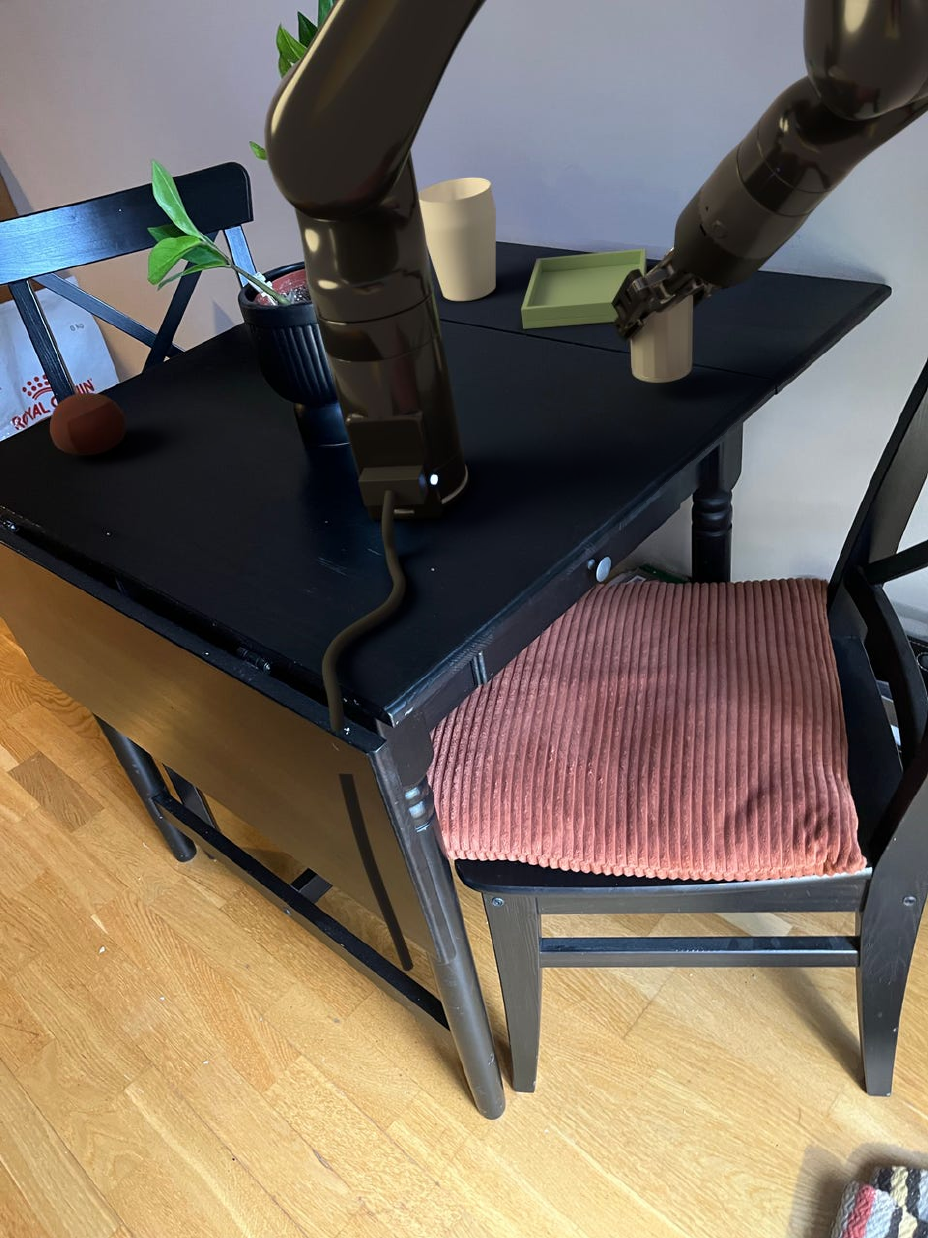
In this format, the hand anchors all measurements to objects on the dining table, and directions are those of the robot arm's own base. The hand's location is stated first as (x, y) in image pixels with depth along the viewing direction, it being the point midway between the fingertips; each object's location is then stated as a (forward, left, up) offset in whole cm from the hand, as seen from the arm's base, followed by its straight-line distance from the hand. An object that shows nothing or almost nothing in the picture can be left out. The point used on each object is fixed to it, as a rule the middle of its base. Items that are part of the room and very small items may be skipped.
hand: (648, 320), depth 85 cm
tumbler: (-1, -1, -4) cm, 5 cm away
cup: (+28, +23, -7) cm, 37 cm away
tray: (+23, +8, -6) cm, 25 cm away
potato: (-7, +57, -7) cm, 58 cm away
